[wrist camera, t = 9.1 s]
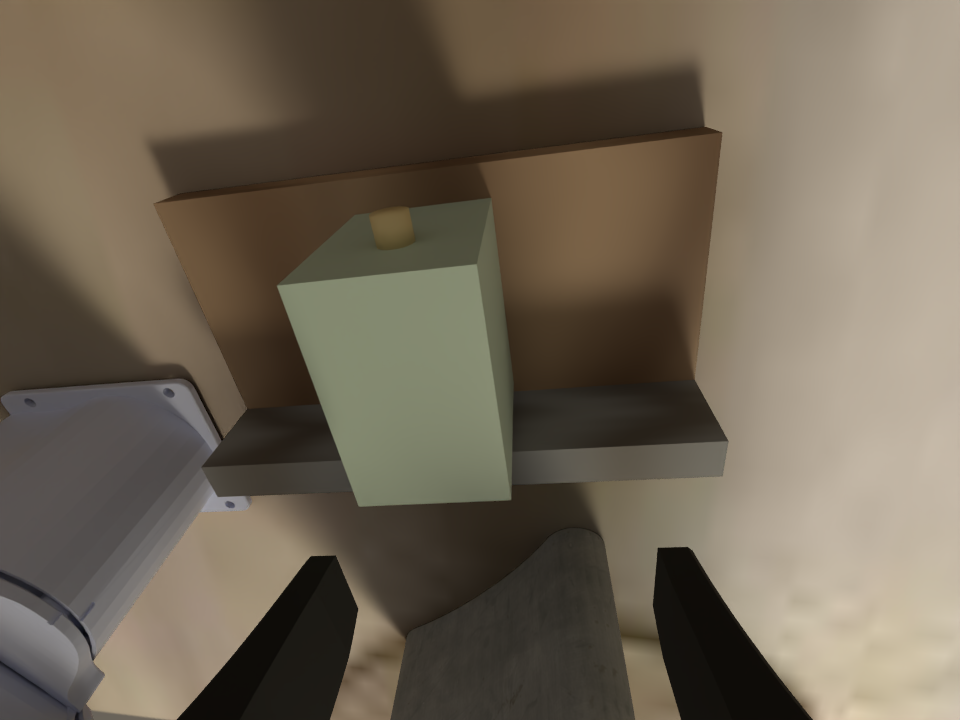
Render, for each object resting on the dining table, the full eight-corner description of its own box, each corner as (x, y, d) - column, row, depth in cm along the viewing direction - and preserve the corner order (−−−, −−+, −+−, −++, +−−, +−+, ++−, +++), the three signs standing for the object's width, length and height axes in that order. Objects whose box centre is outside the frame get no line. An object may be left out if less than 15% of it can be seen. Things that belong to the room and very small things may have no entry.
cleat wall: (274, 415, 23) (217, 497, 18) (180, 193, 18) (70, 234, 13) (680, 389, 20) (722, 476, 16) (705, 126, 15) (777, 151, 11)
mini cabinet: (401, 390, 20) (358, 506, 14) (348, 189, 16) (263, 250, 10) (513, 382, 19) (511, 500, 14) (488, 171, 15) (471, 226, 10)
